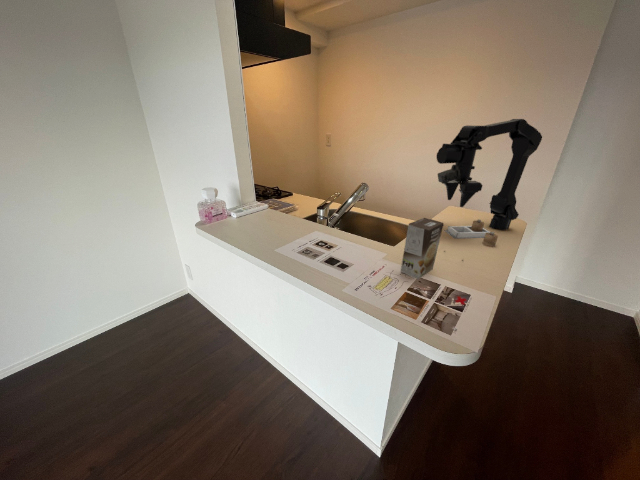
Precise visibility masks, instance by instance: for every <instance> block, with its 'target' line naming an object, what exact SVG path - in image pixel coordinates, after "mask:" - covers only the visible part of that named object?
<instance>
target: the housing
mask: <svg viewBox="0 0 640 480" xmlns="http://www.w3.org/2000/svg"><path fill="white" fill-rule="evenodd" d="M471 227H472V225H455V226H454V225H452V226H451V225H449V226H447V229H445V230H444V229H443V231H444V232H445V233H447V234H448V235H449V236H450V237H452V238H453V239H456V240H457V239H458V240H459V239H484V237H485V234H486V233H491V232H492V231H490V230H488V229H486V228H484V227H483V230H482V232H474V231H472V230H471Z"/></svg>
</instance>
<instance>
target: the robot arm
mask: <svg viewBox="0 0 640 480" xmlns="http://www.w3.org/2000/svg"><path fill="white" fill-rule="evenodd" d="M504 134H508V137H509V138H510V140H511V141H512V143H511V147H510V149H511V152H512V158H511V159H510V163H509V165H508V169H507V172H506V175H505V178H504V180H503V182H502V185H501V189H500V191H499V192H498V193H497V194H493V195H492V196H491V201H490V202H489V209H490V214H492V218H491V220H490V223H489V228H491V229H493V230H499V231H506V230H509V228H510V226H511V222H512V221H514V220H517V219H518V217H519V212H518V211H517V208H516V205H517V198H516V191H517V189H518V186H519V184H520V181H521V179H522V175H523V172H524V170H525V168H526V165H527V162H528V159H529V157H530V156H531V155H532V154H534V153H535V151H537V150H538V148H539V146H540V144H541V142H542V141H543V139H542V138H543V135H542V133H541V132H540V131H539V130H538V129H537V128H535V127H534V126H533V125H531V124H529V123H528V121H527V120H526V119H524V118H512V119H510V120H505V121H501V122H494V123H490V124H486V125H469V124H468V125H467V124H466V125H464V126H462V127H461V129H460V130H459V132H458V133H457V135H456V136H455V137H454V138H453V140H452V141H451V142H450V143H442V145H441V147H440V148H439V150H438V151H437V152H436V162H437V163H438V164H441V165H442V164H444V165H445V164H452V165H451V168H450V169H447V170H443V171H441V172H438V173H437V178H438V182H439V183H441V184H443V185H444V186H445V189H446V195H447V196H446V197H447V201H451V200H452V198H453V196H454V195H455V192H456V190H457V188H458V186H459V189H458V191H459V192H460V200H459V201H460V202H459V207H460V208H464V207H465V205H466V204H468V202H469V201H470V199H472V197H473V196H474V195H475V194H477V193H479V192H481V191H482V189H483V184H482V183H481V182H480V181H477V180H473V177H471V174H472V170H475V168H476V166H474V161H475V157H476V154H477V153H476V152H477V151H481V150H482V149H483V147H482V146H481V145H480V143H482V142H483V141H486V139H487V138H490V137H494V136H498V135H504Z"/></svg>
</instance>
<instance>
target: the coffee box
mask: <svg viewBox="0 0 640 480" xmlns="http://www.w3.org/2000/svg"><path fill="white" fill-rule="evenodd" d="M443 227H444V222H442V221H440V220H435V219H431V218H430V219H429V218H426V217H423V218H420V219H418V220H415V221H412V222H409V223H408V227H407V232H406V237H405V244H404V248H403V249H404V250H403V254H402V260H401V265H400V266H401V267H400V272H401V273H403V274H405V275H407V276H409V277H412V278H414V279H416V280H419V279H421V278H422V277H424V276H425V275H427V274H429V273H430V272H431V271H432V270H434V265H435V262H436V257H437V253H438V249H439V245H440V240H441V237H442V231H443Z"/></svg>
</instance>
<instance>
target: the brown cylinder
mask: <svg viewBox="0 0 640 480" xmlns="http://www.w3.org/2000/svg"><path fill="white" fill-rule="evenodd" d="M490 232H491V233H486V234H485V237H484V238H483V240H482V245H483V246H486V247H489V248H495V246H496V244H497V240H498V238H499V235H498V234H496V233H495V232H494V231H490Z"/></svg>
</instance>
